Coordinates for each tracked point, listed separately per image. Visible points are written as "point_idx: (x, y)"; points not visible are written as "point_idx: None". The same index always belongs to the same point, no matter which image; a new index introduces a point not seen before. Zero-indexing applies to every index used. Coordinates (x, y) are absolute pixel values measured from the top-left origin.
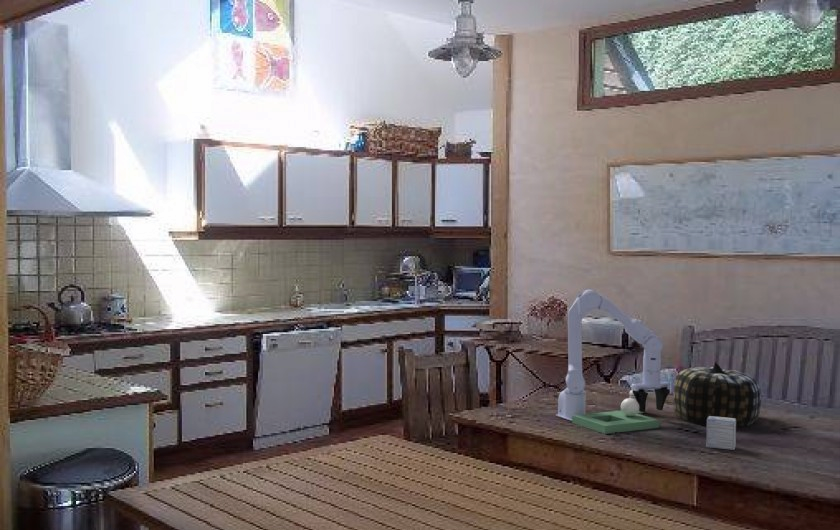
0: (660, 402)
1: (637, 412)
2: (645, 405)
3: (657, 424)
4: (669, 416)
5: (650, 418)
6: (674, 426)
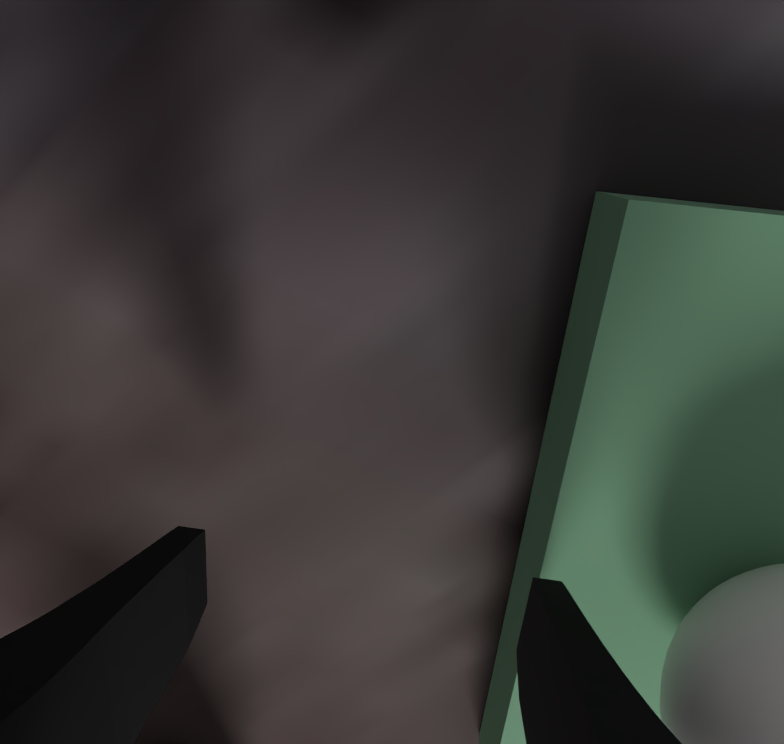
0: (136, 641)
1: (776, 570)
2: (565, 651)
3: (644, 197)
4: (2, 545)
5: (649, 360)
6: (324, 136)
